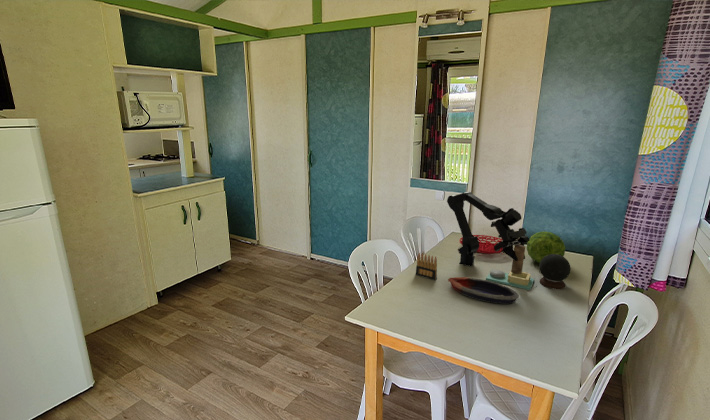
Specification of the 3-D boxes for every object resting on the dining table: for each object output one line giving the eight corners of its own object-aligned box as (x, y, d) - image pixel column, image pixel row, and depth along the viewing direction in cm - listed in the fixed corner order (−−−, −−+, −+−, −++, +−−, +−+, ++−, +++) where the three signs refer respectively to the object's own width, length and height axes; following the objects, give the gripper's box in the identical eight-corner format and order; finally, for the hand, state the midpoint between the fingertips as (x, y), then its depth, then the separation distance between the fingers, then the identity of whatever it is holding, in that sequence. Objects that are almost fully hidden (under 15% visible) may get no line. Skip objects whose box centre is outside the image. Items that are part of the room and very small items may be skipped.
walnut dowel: (510, 272, 176) (513, 246, 173) (512, 269, 180) (515, 244, 176) (520, 275, 174) (524, 248, 170) (522, 271, 177) (526, 246, 174)
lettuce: (566, 260, 210) (564, 228, 210) (566, 268, 189) (564, 232, 189) (529, 260, 219) (527, 229, 219) (526, 267, 199) (523, 233, 198)
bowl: (504, 264, 203) (505, 255, 202) (452, 253, 219) (452, 244, 217) (515, 248, 227) (516, 240, 226) (467, 239, 243) (467, 232, 241)
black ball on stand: (536, 286, 177) (540, 256, 173) (537, 276, 188) (541, 248, 185) (568, 292, 171) (573, 262, 167) (567, 281, 182) (572, 252, 179)
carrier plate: (485, 279, 184) (486, 272, 183) (491, 271, 193) (492, 264, 192) (529, 290, 173) (531, 282, 172) (533, 280, 183) (534, 273, 182)
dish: (512, 312, 154) (514, 301, 153) (442, 291, 171) (443, 281, 170) (521, 297, 167) (522, 287, 165) (454, 280, 184) (455, 270, 182)
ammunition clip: (436, 278, 184) (438, 256, 181) (435, 280, 183) (436, 257, 180) (417, 273, 190) (418, 251, 187) (415, 274, 189) (416, 252, 186)
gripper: (501, 225, 170) (518, 256, 163) (529, 220, 178) (546, 249, 172) (486, 236, 178) (502, 266, 172) (513, 231, 187) (529, 259, 180)
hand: (520, 259), depth 174 cm, fingers closed on walnut dowel, 5 cm apart
